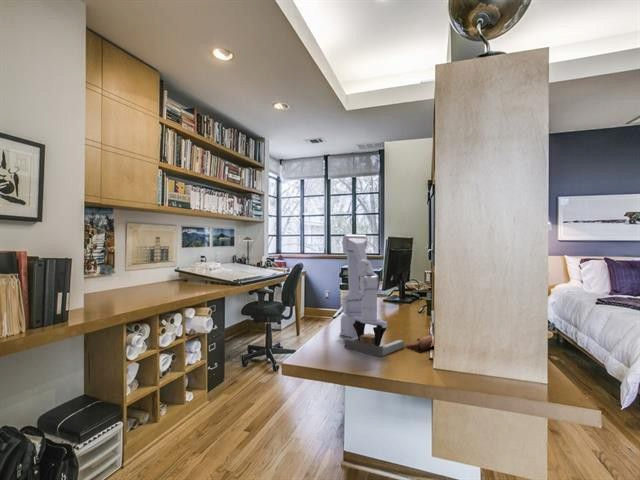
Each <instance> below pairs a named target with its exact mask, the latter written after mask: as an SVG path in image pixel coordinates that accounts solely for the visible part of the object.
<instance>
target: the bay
mask: <svg viewBox="0 0 640 480" xmlns="http://www.w3.org/2000/svg"><path fill="white" fill-rule="evenodd" d="M367 334H372V333H371V332H368V333H367ZM343 343H344V344H343V345H344V348H346V349H350V350H353V351H357V352H359V353H360V352H361V353H363V354H367V355H371V356H374V357H378V358H381V357H383V356H386V355H388V354H391V353H393V352H395V351H399V350H401V349H403V348H404V346H405V345H404V344H405V343H404V340H401V339H398V340H394V341H391V342H389V343H387V344H384V345H380V346H376V345H372V344H368V343H365V342H361V341H359V340H358V337H355V338H352V337H347V338H344V342H343Z"/></svg>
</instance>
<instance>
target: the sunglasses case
mask: <svg viewBox="0 0 640 480" xmlns="http://www.w3.org/2000/svg"><path fill="white" fill-rule="evenodd" d="M432 335H433V334H430V335H426V336H421V337H418V338H417V339H416V340H413V341H411V342H408V343H406V344H405V345H404V348H405V349H407V350H410V349H411V350H412V351H414V352H418V353H420V352H424V351H426V350H428V349H431V348H430V346H431V343H432ZM411 350H410V351H411Z"/></svg>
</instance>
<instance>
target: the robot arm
mask: <svg viewBox="0 0 640 480" xmlns="http://www.w3.org/2000/svg"><path fill="white" fill-rule="evenodd" d="M367 246H368V237H367V236H366V234H347V233H345V234H344V235H343V238H342V251H343V254H344V255H346V259H347V281H348V292H347V293H345V295H344V296H343V297H342V305H341V306H342V308H341V309H342V312H343V314H342V315H341V317H340V332H339V335H340V336H345V337H347V338H355V337H358V340H359V341H360V336H361V335H364V334H365V328H366V325H370V326H371V325H372V326H373V328H372V330H373V333H374V334H373V335H375V345H376V346H381V342H382V338H383V337H384V334H385V332H386V330H387V328H388V322H387V321H385V320H381V319H379V318H378V291H379V289H380V286H381V285H380V284H381V283H380V278H379V275H377V273H375V272H374V269H373V266H372V262H371V261H370V260H368V257H367V252H366V249H367Z"/></svg>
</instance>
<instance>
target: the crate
mask: <svg viewBox="0 0 640 480" xmlns="http://www.w3.org/2000/svg"><path fill="white" fill-rule="evenodd" d="M360 341H361V342H365V343H368V344H372V345H375V334H373V333H371V334H368V333H364V335H361V336H360Z"/></svg>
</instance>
